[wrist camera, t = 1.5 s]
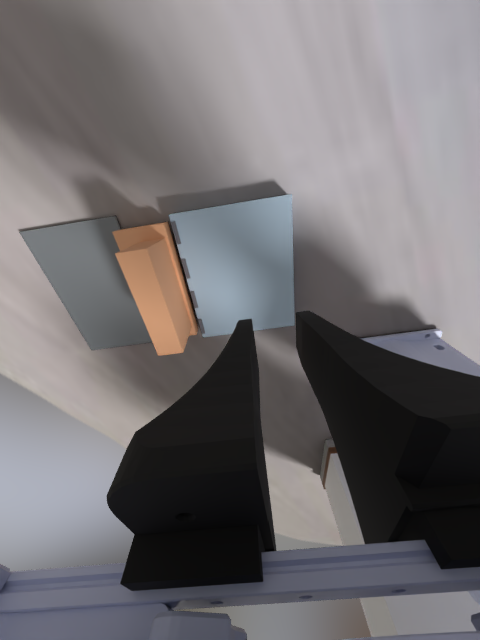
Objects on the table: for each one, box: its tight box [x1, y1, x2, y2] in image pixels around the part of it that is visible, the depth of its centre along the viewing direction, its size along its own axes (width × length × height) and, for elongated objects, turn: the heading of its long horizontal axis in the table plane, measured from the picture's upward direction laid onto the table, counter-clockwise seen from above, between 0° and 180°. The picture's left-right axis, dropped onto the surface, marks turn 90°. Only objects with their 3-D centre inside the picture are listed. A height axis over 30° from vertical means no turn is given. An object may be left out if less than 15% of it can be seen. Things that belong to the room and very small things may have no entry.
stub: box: [112, 222, 198, 356], centre depth 17 cm, size 4×10×5 cm, turn 8°
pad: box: [19, 216, 152, 350], centre depth 20 cm, size 8×12×1 cm, turn 8°
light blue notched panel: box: [169, 194, 295, 338], centre depth 19 cm, size 9×11×2 cm
